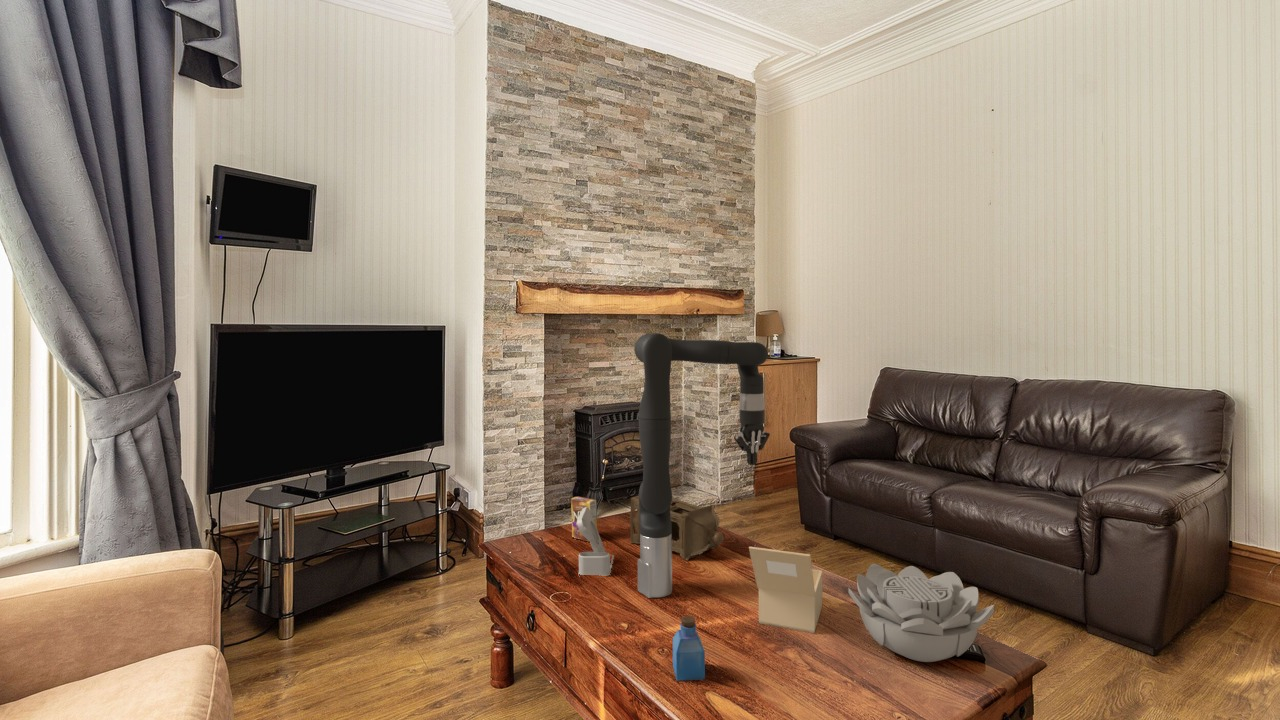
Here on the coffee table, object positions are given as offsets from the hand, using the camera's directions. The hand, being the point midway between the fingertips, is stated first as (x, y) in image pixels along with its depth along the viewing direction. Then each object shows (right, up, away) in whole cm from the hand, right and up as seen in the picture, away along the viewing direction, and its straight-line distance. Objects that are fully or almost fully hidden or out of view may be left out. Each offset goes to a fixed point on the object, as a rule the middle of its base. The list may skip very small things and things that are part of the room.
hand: (752, 464), depth 185 cm
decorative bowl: (+30, -37, -41) cm, 63 cm away
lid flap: (+1, -20, -35) cm, 41 cm away
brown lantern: (-20, -34, +26) cm, 47 cm away
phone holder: (-48, -35, +12) cm, 61 cm away
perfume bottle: (-23, -38, -49) cm, 66 cm away
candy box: (-54, -34, +37) cm, 74 cm away
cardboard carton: (+6, -36, -23) cm, 43 cm away
